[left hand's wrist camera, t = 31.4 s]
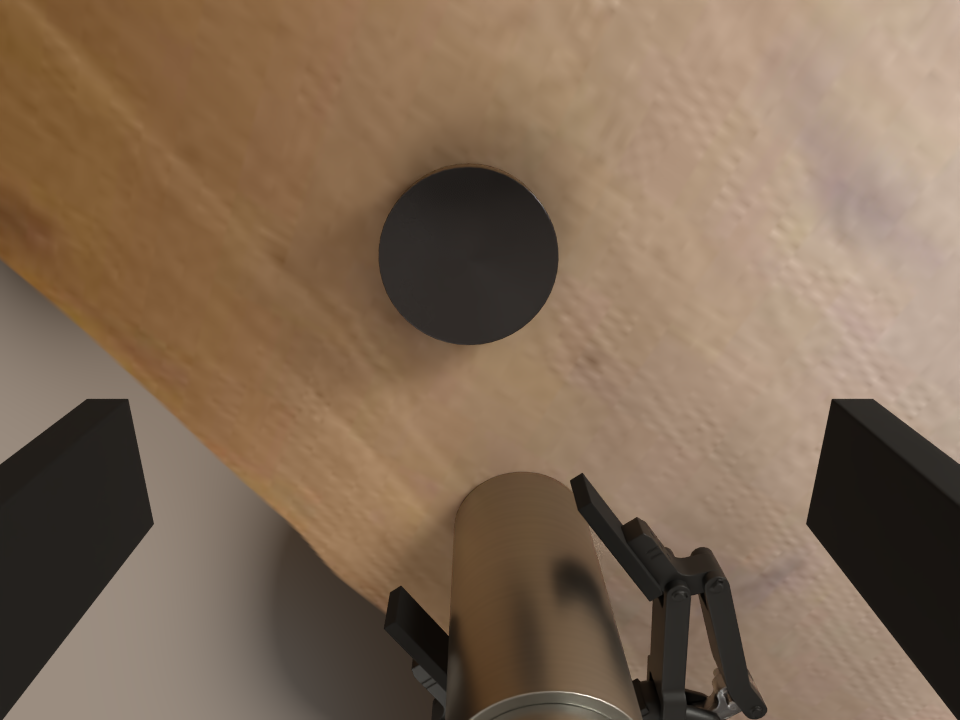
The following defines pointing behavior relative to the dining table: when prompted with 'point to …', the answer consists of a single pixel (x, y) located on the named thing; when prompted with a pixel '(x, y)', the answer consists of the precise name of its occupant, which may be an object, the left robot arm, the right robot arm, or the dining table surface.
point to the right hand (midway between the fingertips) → (483, 550)
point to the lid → (468, 254)
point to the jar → (531, 610)
